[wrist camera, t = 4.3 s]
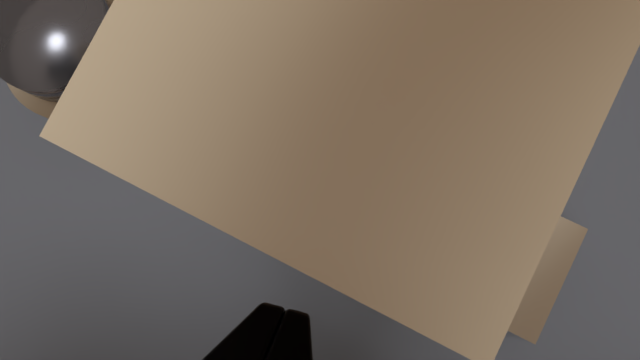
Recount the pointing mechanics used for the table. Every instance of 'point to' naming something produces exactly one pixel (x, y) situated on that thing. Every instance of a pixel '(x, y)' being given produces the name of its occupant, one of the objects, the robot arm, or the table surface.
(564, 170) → the link
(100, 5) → the keeper
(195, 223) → the base board
